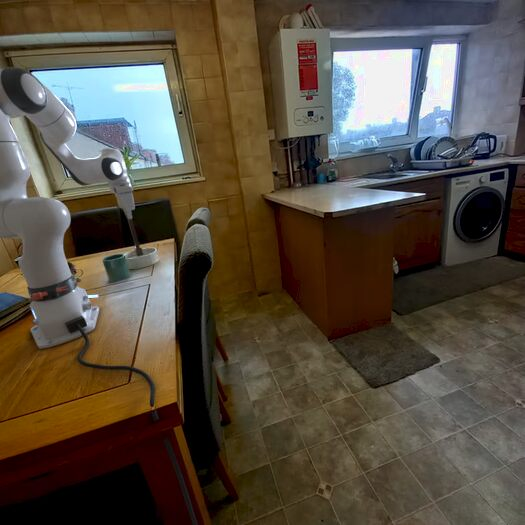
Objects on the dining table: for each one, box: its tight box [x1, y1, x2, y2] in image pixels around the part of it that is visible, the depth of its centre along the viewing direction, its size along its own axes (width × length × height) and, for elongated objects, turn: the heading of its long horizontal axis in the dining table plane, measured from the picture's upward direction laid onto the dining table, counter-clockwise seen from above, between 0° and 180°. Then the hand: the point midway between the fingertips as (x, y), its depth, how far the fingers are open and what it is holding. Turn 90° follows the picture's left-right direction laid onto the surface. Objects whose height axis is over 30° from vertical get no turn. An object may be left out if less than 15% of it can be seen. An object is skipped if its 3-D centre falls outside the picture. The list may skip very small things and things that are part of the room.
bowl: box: [123, 246, 160, 270], centre depth 135 cm, size 16×16×6 cm
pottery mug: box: [67, 261, 77, 274], centre depth 130 cm, size 12×10×8 cm
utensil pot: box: [101, 253, 131, 283], centre depth 119 cm, size 9×9×10 cm
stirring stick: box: [124, 211, 143, 256], centre depth 131 cm, size 3×3×22 cm
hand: (129, 218), depth 128 cm, fingers closed on stirring stick, 2 cm apart
